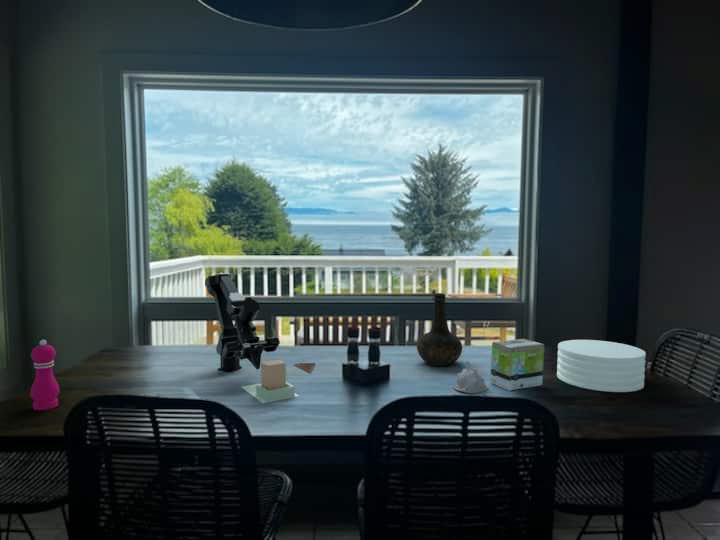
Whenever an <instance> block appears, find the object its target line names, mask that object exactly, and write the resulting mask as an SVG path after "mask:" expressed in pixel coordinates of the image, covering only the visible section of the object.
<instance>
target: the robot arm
mask: <svg viewBox="0 0 720 540" xmlns="http://www.w3.org/2000/svg"><path fill="white" fill-rule="evenodd" d="M204 286H205V288H206V289H207V293H208V294H209V296H210V295H211V297H212V298H213V299H214V300H213V301H214V303H215V307H216V311H217V316H218V321H219V325H220V329H221V332H220V333H219V334H220V335H219V337H218V342H217V344H216V346H215V351H216V353H217V354H218V355H219V356H220V357H219V358H220V367H218V368H217V370H218V371H224V372H230V373H231V372H234V371H237V370H239V369H242V368H243V366H241V365H240V361H242V360H248V361H249V362H250V363H251V365H252V366H253V367H254V368H255V369H256V370H257V371H258V370H261V362H262V360H261V359H262V354H263V352H266V353H273V352H275V351H277V349H278V347H279V345H280V343H281V341H280V339H279V337H277V336H272V337H266V339H265V341H260V336H258V335H257V332H256V331H257V326H255V325H254V324H253V321H254V320H255V319H256V317H257V315H258V313H259V311H260V308H261V307H260V305H261V304H260V303H259V302H258V301H256V300H255V299H253V298H252V297H251V296H245V295H243V294H241V293H240V292H239V290H238V289H237V287H236V285H235V283H234V281H233V280H232V274H231V273H229V272H221V273H220V272H218V273H216V274H215V275H207V277H206V278H205V280H204ZM235 316H236V317H235ZM233 317H235V318H234V320H233ZM233 321H234V322H233Z"/></svg>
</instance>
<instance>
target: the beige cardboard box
mask: <svg viewBox="0 0 720 540" xmlns="http://www.w3.org/2000/svg"><path fill="white" fill-rule="evenodd" d="M286 365H287V364H286V362H285V361H284V360H281V359H272V360H271V359H270V360H266V361H260V377H261V378H260V381H261V382H260V383H261V386H262V387H264V388H265V389H267V390H268V391H270V390H275V389H281V388H286V382H287V377H286V376H287V375H286V374H287V373H286V369H287V367H286Z"/></svg>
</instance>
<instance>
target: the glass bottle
mask: <svg viewBox="0 0 720 540" xmlns="http://www.w3.org/2000/svg"><path fill="white" fill-rule="evenodd" d="M431 300H433V301H434V302H433V315H432V323H431V329H430V331H427V332H425V333H424V334H422V335H421V336H420V337H419V338H418V340H417V343H416V350H417V353H418V355H419V357H420V358H421V359H422V360H423V361H424V362H425V363H427V364H429V365H432V366H449V365H451V364H454V363H456V362H457V361H458V360H459V359H460V357H461V355H462V354H463V352H462V351H463V343H462V342H461V339H460V338H459V337H458V336H457V335H456V334H455V333H452V332H451V331H450V329H449V326H448V325H449V324H448V319H447V309H446V300H447V297H446V294H445V293H442V292H439V293H438V292H435V293H434V294H433V297H432V298H431Z"/></svg>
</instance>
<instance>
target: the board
mask: <svg viewBox="0 0 720 540" xmlns="http://www.w3.org/2000/svg"><path fill="white" fill-rule="evenodd" d="M295 387H296V386H294V385H293V384H291V383H290V382H288V381H286V388H281V389H275V390H270V391H268V390H267V389H265V388H264V387H262V386H261V382H260V383H255V384H250V385H243V386H240V388H241V389H242V390H244V391H245V392H246V393H248V394H250V395H251V396H252V397H254V398H255V399H257V401H259V402H260V403H262V404H265V403H270V402H275V401H280V400H281V401H282V400H285V399H286V400H287V399H291V398H296V397H299V396H300V395H299V394H297V393H296V391H295Z"/></svg>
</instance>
